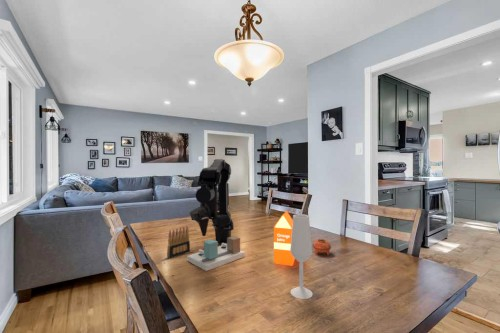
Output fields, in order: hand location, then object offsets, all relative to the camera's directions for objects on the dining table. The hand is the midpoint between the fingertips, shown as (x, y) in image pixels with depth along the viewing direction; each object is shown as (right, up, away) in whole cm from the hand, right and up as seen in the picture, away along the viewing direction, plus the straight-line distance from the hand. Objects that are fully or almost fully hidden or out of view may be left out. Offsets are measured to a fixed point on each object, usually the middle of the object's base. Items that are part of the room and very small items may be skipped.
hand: (210, 238), depth 95 cm
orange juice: (+31, -11, +4) cm, 33 cm away
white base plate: (+2, -11, +6) cm, 12 cm away
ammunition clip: (-16, -11, +11) cm, 22 cm away
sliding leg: (-2, -8, +2) cm, 9 cm away
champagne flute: (+32, -11, -22) cm, 40 cm away
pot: (+48, -11, +11) cm, 51 cm away
